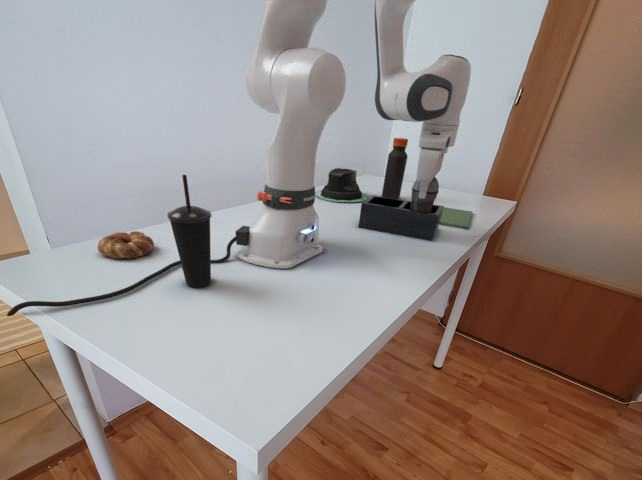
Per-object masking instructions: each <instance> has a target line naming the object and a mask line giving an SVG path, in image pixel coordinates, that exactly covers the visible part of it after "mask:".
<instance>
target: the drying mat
mask: <svg viewBox="0 0 642 480" xmlns="http://www.w3.org/2000/svg"><path fill="white" fill-rule="evenodd" d="M472 215H473V211H471V210H465V209H458V208H452V207H445V206H444V208H443V212H442V216H441V219H440V223H439V226H440V225H441V226H446V227H453V228H459V229H463V230H464V229H465V230H469V226H470V223H471V218H472Z"/></svg>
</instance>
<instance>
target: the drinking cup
mask: <svg viewBox="0 0 642 480" xmlns="http://www.w3.org/2000/svg"><path fill="white" fill-rule="evenodd" d="M181 177H182V184H183V192H184V198H185V205H181V206H179V207H175V208H174V209H173V210H170V211H169V212H167V214H166V216H167V219H168V220H169V222H170V226H171V230H172V234H173V238H174V241H175V245H176V246H175V247H176V250H177V254H178V257H179V261H181V264H180V265H181V268H182V273H183V277H184V280H185V284H186V286H187V287H189V288H192V289H203V288H207V287H209V286H210V285H211V283H212V271H211V270H212V267H211V266H212V265H211V264H212V263H211V260H212V259H211V217H212V212H211V211H210V210H207V209H205V208H203V207H200V206H197V205H191V200H190V193H189V184H188V176H187V175H186V174H182V175H181Z"/></svg>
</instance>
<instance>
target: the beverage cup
mask: <svg viewBox="0 0 642 480" xmlns="http://www.w3.org/2000/svg"><path fill="white" fill-rule="evenodd" d="M439 189H440V185H439V181H438V179H437V177H436V176H435V177H434V178H433V180H432V181H431V182H430V183H429V185H428V189H427V194H426V197H425V198H424V199H423V198H419V192H420V182H418V181H417V179H416V180H414V183H413V185H412V187H411V199H410V201H411V208H410V210H415V211H421V212H427V213H430V212H431V209H432V206H433V204H434V202H435V200H436V198H437V197H438V193H439Z"/></svg>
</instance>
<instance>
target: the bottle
mask: <svg viewBox="0 0 642 480" xmlns="http://www.w3.org/2000/svg"><path fill="white" fill-rule="evenodd" d="M408 141H409V139H408V138H404V137H394V138H393V142H392V150H391V151H390V152H389V153H388V155H387V160H386V161H387V162H386V168H385V173H384V179H383V185H382V191H381V197H387V198H394V199H400V197H401V194H402V193H401V192H402V188H403V183H404V182H403V181H404V177H405V171H406V168H407V167H406V166H407V162H408V153H407V152H406V149H407V147H408Z"/></svg>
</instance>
